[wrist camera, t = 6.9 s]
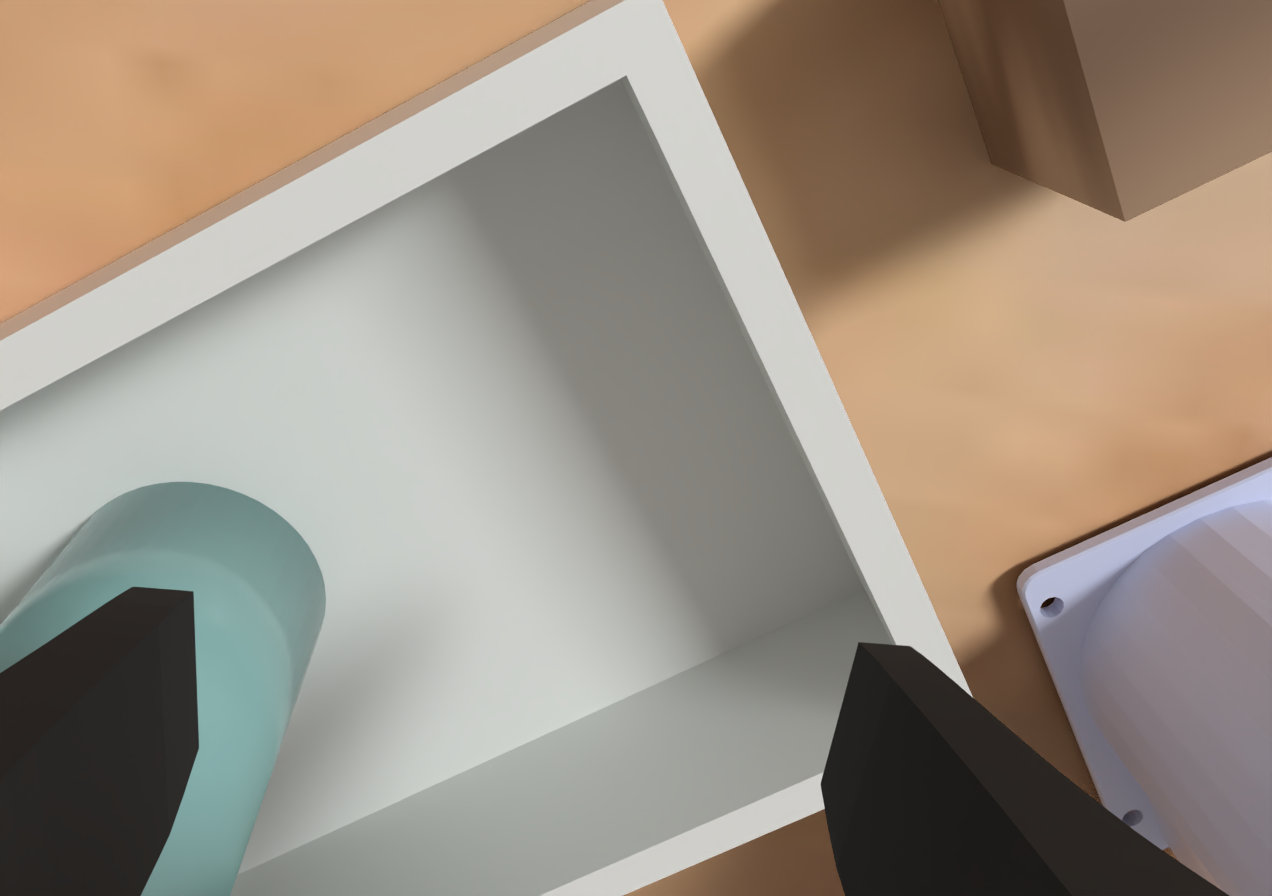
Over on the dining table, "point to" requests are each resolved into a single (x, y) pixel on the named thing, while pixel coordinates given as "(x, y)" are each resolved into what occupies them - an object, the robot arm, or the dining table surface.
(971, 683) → the dining table surface
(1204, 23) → the walnut cube
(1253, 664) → the robot arm
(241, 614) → the teal canister
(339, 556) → the grey tote
